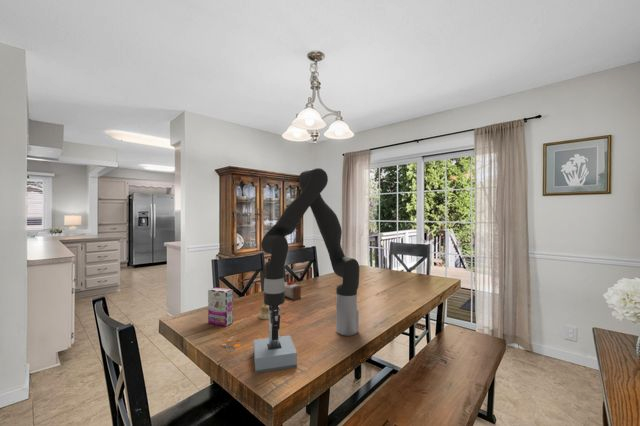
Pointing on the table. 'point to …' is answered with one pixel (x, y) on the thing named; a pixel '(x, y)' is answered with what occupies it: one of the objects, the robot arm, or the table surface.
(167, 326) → the table surface
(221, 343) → the key chain
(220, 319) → the candy bar box
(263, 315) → the hand bell
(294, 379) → the table surface
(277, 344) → the pin
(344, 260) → the robot arm
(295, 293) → the food item
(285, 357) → the bore block
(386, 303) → the table surface
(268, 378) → the table surface
